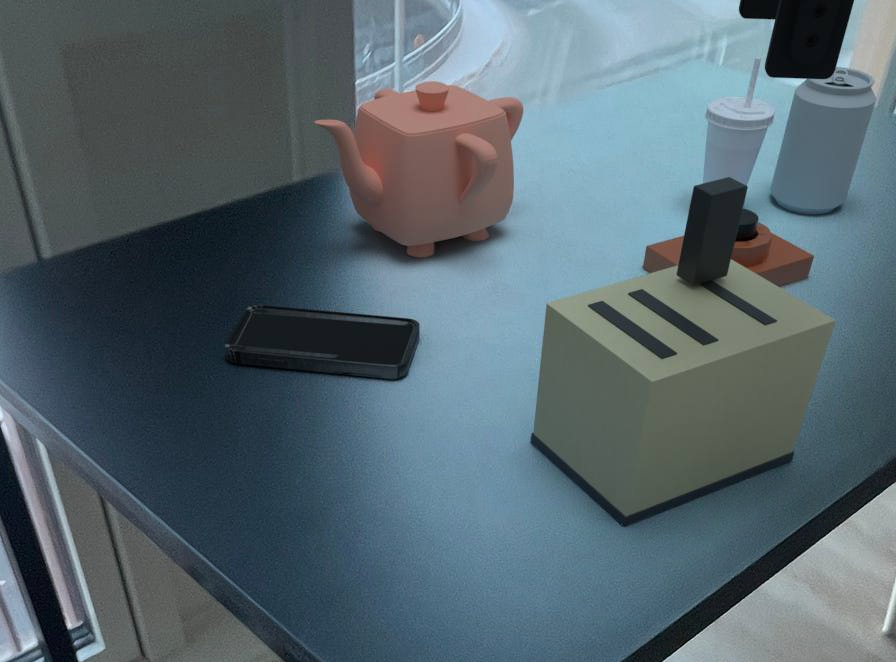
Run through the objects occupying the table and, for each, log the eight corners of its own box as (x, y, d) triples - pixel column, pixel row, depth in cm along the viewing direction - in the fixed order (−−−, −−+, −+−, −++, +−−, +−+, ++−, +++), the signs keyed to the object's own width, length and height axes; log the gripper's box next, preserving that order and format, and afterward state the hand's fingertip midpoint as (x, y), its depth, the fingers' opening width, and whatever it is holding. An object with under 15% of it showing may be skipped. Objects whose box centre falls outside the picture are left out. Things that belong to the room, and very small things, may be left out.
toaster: (690, 387, 79) (721, 250, 71) (792, 461, 73) (838, 318, 65) (530, 442, 74) (544, 301, 66) (623, 527, 67) (652, 381, 59)
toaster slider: (709, 265, 69) (729, 176, 65) (727, 276, 68) (748, 186, 64) (675, 275, 68) (693, 185, 64) (693, 286, 67) (712, 195, 63)
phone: (249, 303, 86) (421, 319, 84) (250, 315, 87) (421, 331, 85) (220, 350, 81) (404, 368, 79) (222, 363, 81) (404, 380, 80)
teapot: (517, 204, 103) (528, 62, 94) (499, 275, 92) (509, 122, 83) (358, 193, 105) (353, 52, 96) (322, 260, 94) (312, 110, 85)
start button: (734, 223, 92) (739, 204, 91) (762, 238, 90) (767, 219, 88) (704, 231, 91) (708, 212, 89) (731, 247, 88) (736, 227, 87)
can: (764, 212, 102) (797, 83, 94) (771, 183, 107) (802, 58, 98) (841, 222, 101) (882, 91, 92) (844, 193, 105) (882, 66, 97)
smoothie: (734, 228, 99) (771, 72, 89) (675, 212, 102) (704, 58, 92) (761, 207, 103) (799, 55, 93) (704, 191, 106) (734, 41, 96)
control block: (740, 240, 98) (750, 199, 95) (807, 278, 92) (820, 236, 89) (642, 268, 93) (649, 226, 91) (706, 310, 88) (716, 266, 85)
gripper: (1076, -453, 33) (896, 107, 45) (937, -439, 45) (824, 1, 57) (842, -454, 34) (727, 100, 46) (767, -440, 46) (691, -3, 58)
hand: (781, 45), depth 52 cm, fingers open, 9 cm apart
